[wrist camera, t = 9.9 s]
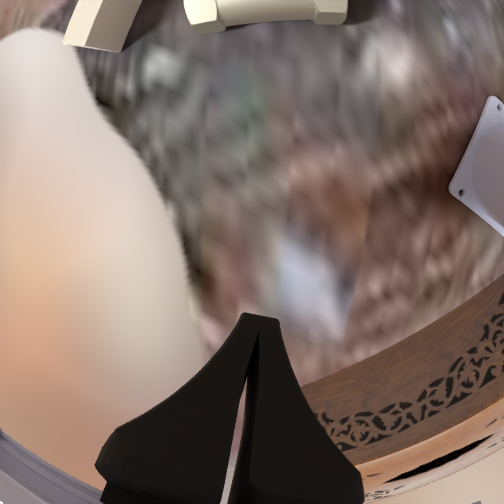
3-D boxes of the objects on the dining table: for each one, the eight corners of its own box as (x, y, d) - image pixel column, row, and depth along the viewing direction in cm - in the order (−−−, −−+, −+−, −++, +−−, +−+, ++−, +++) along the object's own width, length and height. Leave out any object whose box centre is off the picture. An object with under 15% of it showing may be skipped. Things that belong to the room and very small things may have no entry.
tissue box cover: (339, 442, 31) (340, 509, 23) (275, 394, 27) (265, 483, 18) (519, 351, 22) (552, 412, 13) (512, 264, 18) (575, 337, 9)
